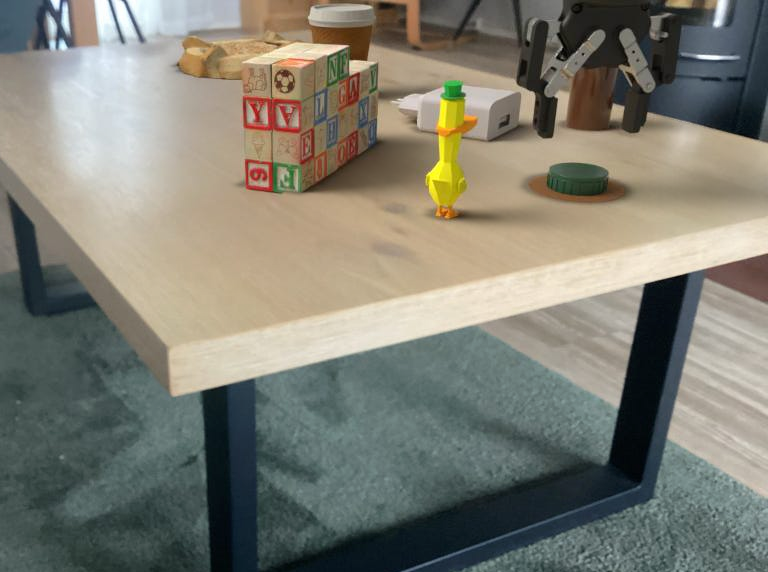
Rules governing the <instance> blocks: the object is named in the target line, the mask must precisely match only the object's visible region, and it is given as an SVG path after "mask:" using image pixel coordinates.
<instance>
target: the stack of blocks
mask: <svg viewBox="0 0 768 572" xmlns="http://www.w3.org/2000/svg"><path fill="white" fill-rule="evenodd" d="M349 55H350V46H348V45H329V44H313V43H309V42H306V43H293V44H290V45H288V46H285V47H282V48H279V49H276V50H274V51H273V52H270V53H267V54H264V55H262V56H259V57H255V58H252V59H249V60H247V61H244V62H242V79H241V81H242V123H243V124H242V126H243V137H244V172H245V173H244V176H245V177H244V178H245V179H244V181H245V188H246V189H248V190H256V191H263V192H271V193H273V192H274V193H278V194H283V193H284V192H285V191H287V192H294V193H303V192H304V191H306V190H307V189H308V188H310V187H312V186H314V185H316V184H317V183H318V182H320V181H322V180H323V179H325V178H327V176H330V175H331V174H332V173H334V172H335V171H337V170H338V168H340V167H342V166H343V165H345V164H346V163H348V161H350V160H351V159H353V158H355V157H356V156H358V155H360V154H361V153H363V152H365V151H366V150H368V149H369V148H371V147H372V146H373V145H374V144H376V143H377V140H378V139H377V137H378V135H377V134H378V115H379V90H378V86H379V85H378V84H379V61H371V60H370V61H369V60H367V61H358V60H353V61H352V60H349Z"/></svg>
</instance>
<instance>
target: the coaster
mask: <svg viewBox="0 0 768 572" xmlns="http://www.w3.org/2000/svg"><path fill="white" fill-rule="evenodd" d="M546 183H547V175H544V176H543V175H542V176H540V177H536V178H534V179H531V180H530V181H529V182H528V187H529V189H530V190H531V191H532V192H533V193H535V194H537V195H540V196H542V197H546V198H549V199H553V200H558V201H565V202H571V203H587V204H588V203H590V204H591V203H605V202H611V201H615V200H619V199H620V198H622V197H624V195H625V192H626V191H625V189H624V188H623V187H622V186H621V185H620V184H618V183H615V182H613V181H611V180H608V185H607V190H605V192H603V193H601V194H597V195H590V196H578V195H569V194H563V193H559V192H556V191H553V190H551V189H550V188H549V187H547V185H546Z"/></svg>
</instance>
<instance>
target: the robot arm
mask: <svg viewBox="0 0 768 572" xmlns="http://www.w3.org/2000/svg"><path fill="white" fill-rule="evenodd" d="M651 3H652V0H562V9H561V12H560V15H559V17H558V18H557V19H542V18H538V17H533V16H531V17H528V18H527V19H526V21H525V22H524V28H523V34H522V40H521V46H520V52H519V58H518V59H519V60H518V66H517V72H516V77H515V83H516V85H517V86H518V87H520V88H523V89H525V90H526V91H529V92H532V93H533V94H534V106H533V116H532V129H533V130H535V131H536V134H537V136H538V137H540V138H542V139H553V137H554V134H555V127H556V119H557V111H558V102H559V98H558V97H556V95H557V94H558V93H559V91H560V90H561V89H562V88H563V86H564V85H565V83H566V82H567V81H568V80H569V79H572V77H573V76H574V75H575V74H576V72H577V71H578V70H579V69H580V67H581V68H584V69H595V68H598V67H601V66H605V67H608V68H619V70H620V71H622V73H623V74H624V76H625V78H626V80H627V82H628V84H629V86H630V87H631V88H628V89H626V94H625V95H626V96H625V102H624V108H623V114H622V121H621V129H622V131H624V132H626V133H628V134H638V133H639V132H640V131H641V128H643V127H645V126H644V125H645V124H646V122H647V120H648V119H647V118H648V113H649V108H650V107H649V106H650V101H651V95H652V93H653V91H654V90H655V89H656V88H658V87H660V86H663V85H670V84H672V83H673V82H675V79H676V73H677V67H678V66H677V65H678V57H679V50H680V44H681V35H682V26H683V17H682V16H681V15H679V14H676V13H671V12H665V11H661V12H659V13H658V14H656V15H652V16H651V14H650V5H651ZM648 34H649V37H650V39H652V45H651V54H650V62H649V63H648V61H647V59H646V58H645V56H644V54H643V52H642V50H641V48H640V46H639V45H640V44H641V43H642V41H643V40H644V39H645V37H647V35H648ZM554 36H556V37H557V39H558V41H559V42H560V44H561V45H560V46H559V48H558V49H557V50H556V52H555V53H554V54H553V55H552V56H551V58H550V59H549V60H548V62H547V66H546V68H545V69H544V70H543V64H544V59H545V53H546V47H547V46H549V45H550V44H551V42H552V40H553V38H554ZM542 70H543V72H542Z"/></svg>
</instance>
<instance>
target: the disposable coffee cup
mask: <svg viewBox="0 0 768 572" xmlns="http://www.w3.org/2000/svg"><path fill="white" fill-rule="evenodd" d="M376 19H377V15H375V10H374V6H373V5H368V4H362V3H361V4H357V3H325V4H316V5H313V6H311V7H310V11H309V15H308V16H307V20H308V22H309V25H310V28H311V29H310V30H311V39H312V44H329V45H348V46H350V55H349V60H352V61H353V60H358V61H368V59H369V58H368V57H369V51H370V45H371V39H372V32H373V25H374V24H375V20H376Z"/></svg>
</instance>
